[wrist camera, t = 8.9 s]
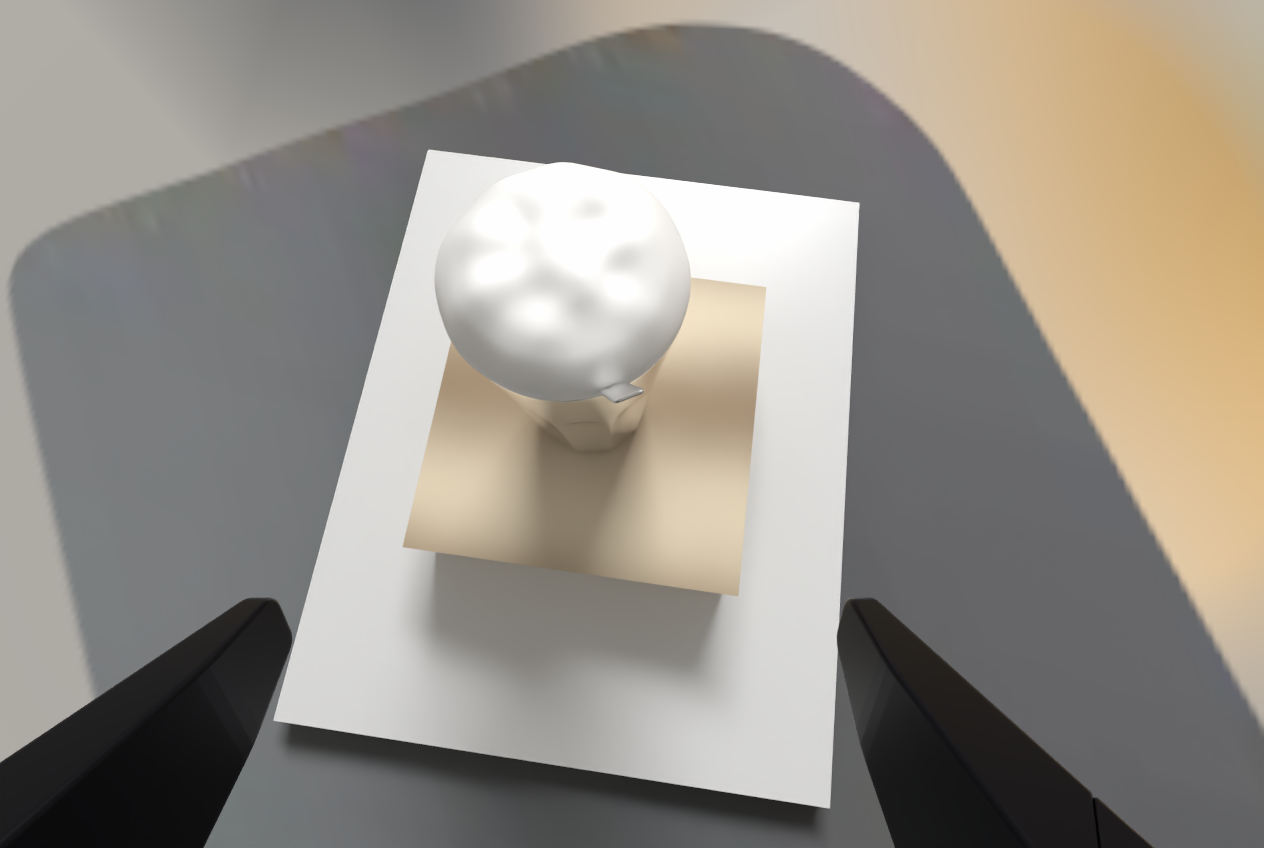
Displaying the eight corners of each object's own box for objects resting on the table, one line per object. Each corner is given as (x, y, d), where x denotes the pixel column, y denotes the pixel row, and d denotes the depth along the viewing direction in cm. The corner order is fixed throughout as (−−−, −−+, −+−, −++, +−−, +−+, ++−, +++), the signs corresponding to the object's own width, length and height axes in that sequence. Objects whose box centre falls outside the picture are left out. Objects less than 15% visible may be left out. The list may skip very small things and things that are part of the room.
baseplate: (819, 796, 19) (829, 808, 18) (291, 713, 19) (273, 720, 19) (850, 217, 24) (859, 202, 23) (435, 166, 25) (428, 149, 24)
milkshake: (558, 522, 17) (466, 461, 7) (500, 366, 18) (357, 138, 9) (696, 466, 18) (781, 339, 8) (631, 317, 19) (634, 49, 9)
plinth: (722, 592, 20) (738, 596, 17) (436, 550, 20) (402, 547, 17) (748, 324, 22) (766, 286, 19) (493, 291, 22) (472, 249, 19)
